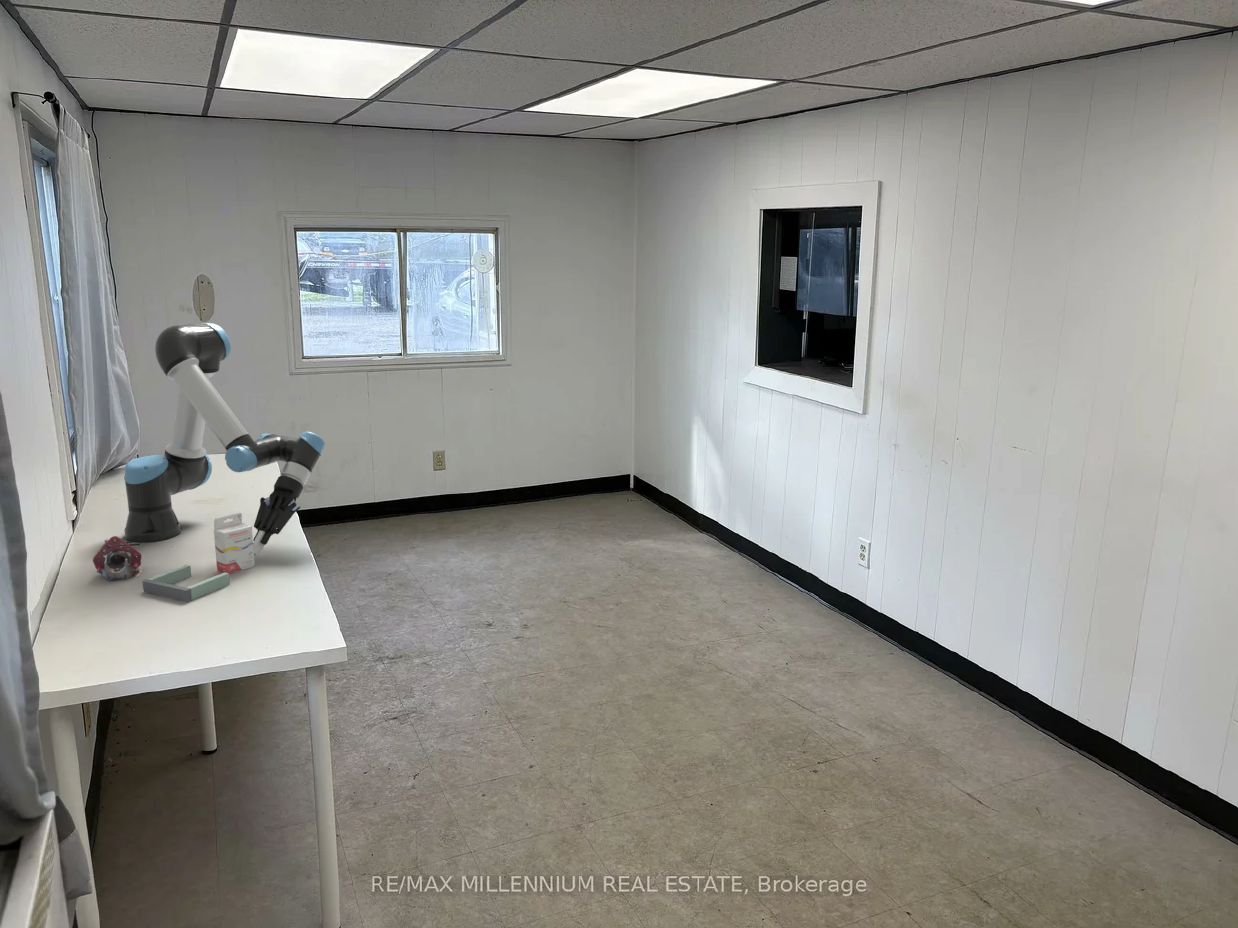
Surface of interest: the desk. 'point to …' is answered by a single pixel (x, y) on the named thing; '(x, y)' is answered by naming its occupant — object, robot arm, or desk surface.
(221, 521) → the ink cartridge box
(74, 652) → the desk surface
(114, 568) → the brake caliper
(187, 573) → the cartridge dock
